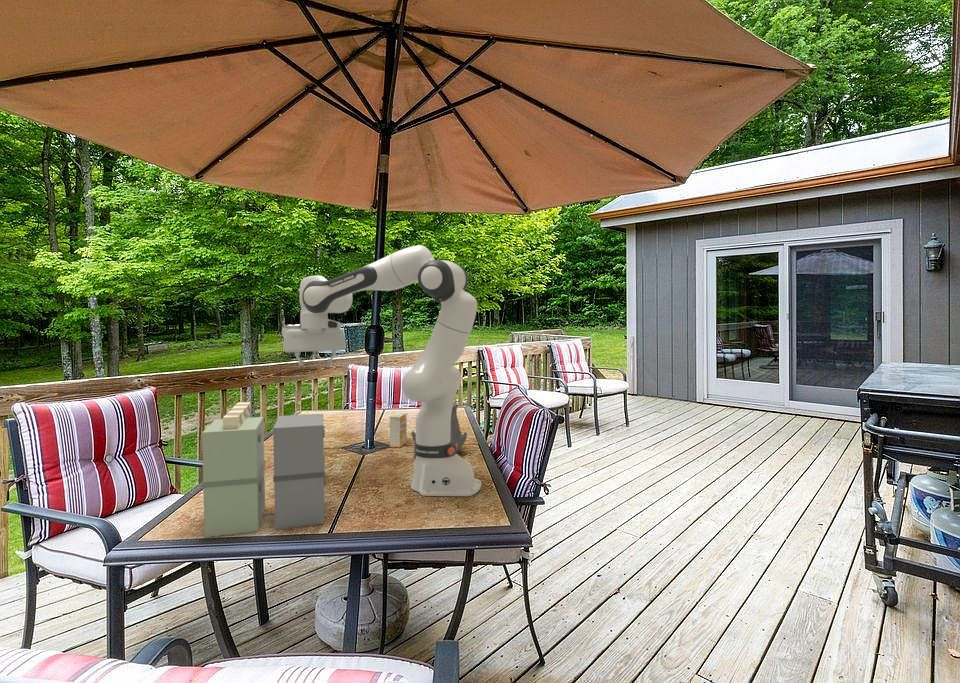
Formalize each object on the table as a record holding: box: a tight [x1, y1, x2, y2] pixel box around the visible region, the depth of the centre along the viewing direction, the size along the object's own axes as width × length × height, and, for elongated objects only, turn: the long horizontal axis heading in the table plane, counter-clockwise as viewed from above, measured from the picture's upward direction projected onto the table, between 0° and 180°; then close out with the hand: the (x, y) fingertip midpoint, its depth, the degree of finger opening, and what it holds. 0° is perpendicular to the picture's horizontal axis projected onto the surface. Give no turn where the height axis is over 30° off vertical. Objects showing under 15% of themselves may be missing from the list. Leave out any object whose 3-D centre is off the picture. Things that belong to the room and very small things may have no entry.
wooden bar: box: [222, 401, 252, 429], centre depth 134 cm, size 23×4×3 cm, turn 18°
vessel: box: [410, 401, 468, 453], centre depth 197 cm, size 22×22×20 cm
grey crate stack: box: [272, 413, 326, 530], centre depth 135 cm, size 16×13×26 cm
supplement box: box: [389, 412, 407, 449], centre depth 208 cm, size 8×5×13 cm, turn 168°
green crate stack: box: [201, 416, 266, 538], centre depth 130 cm, size 16×13×26 cm
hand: (315, 364), depth 168 cm, fingers open, 8 cm apart
